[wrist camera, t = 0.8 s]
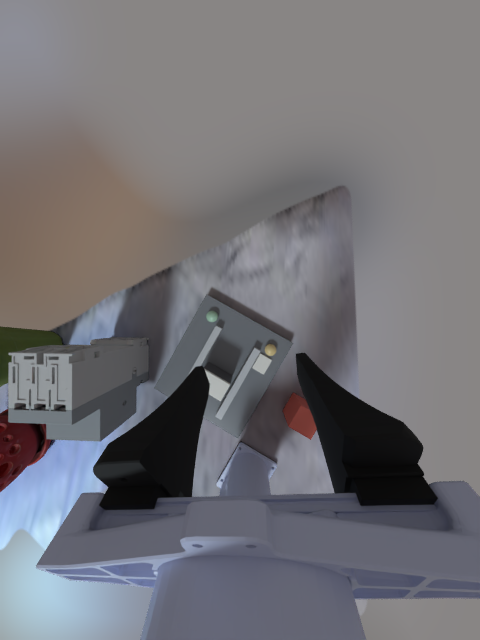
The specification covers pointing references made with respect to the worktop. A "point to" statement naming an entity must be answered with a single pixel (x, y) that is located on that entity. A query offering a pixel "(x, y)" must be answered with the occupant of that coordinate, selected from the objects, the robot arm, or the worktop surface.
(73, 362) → the circuit breaker
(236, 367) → the breaker panel
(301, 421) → the red rectangular block
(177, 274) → the worktop surface
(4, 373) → the plant pot
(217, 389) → the breaker handle
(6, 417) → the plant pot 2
